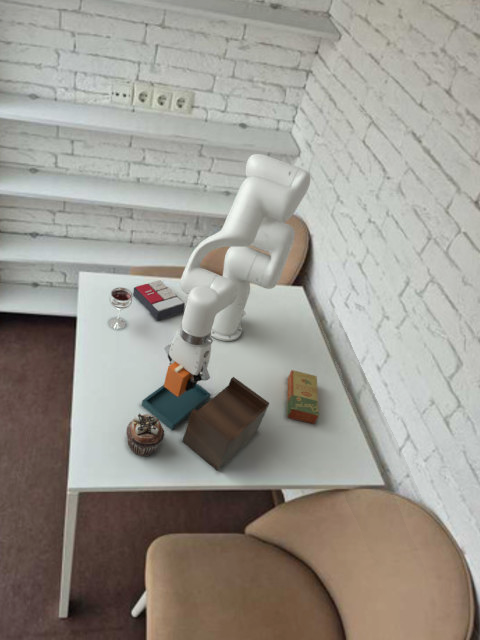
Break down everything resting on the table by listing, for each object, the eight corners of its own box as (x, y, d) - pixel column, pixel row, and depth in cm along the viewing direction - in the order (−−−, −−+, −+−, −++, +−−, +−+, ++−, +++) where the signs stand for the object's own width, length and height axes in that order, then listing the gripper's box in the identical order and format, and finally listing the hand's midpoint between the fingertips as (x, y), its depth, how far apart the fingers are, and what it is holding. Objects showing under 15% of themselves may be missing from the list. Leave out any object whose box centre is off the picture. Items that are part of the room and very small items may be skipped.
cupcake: (165, 456, 135) (172, 432, 129) (128, 462, 132) (133, 437, 126) (156, 426, 142) (162, 401, 136) (120, 430, 139) (125, 405, 132)
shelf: (222, 406, 152) (233, 376, 144) (256, 432, 147) (269, 402, 139) (182, 441, 140) (191, 411, 132) (217, 471, 135) (229, 441, 127)
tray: (180, 376, 157) (181, 371, 156) (209, 398, 153) (211, 394, 152) (141, 405, 146) (142, 400, 145) (171, 430, 142) (172, 425, 141)
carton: (312, 385, 165) (317, 375, 163) (314, 425, 153) (320, 415, 150) (286, 378, 165) (291, 369, 163) (286, 418, 153) (291, 408, 150)
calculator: (160, 278, 186) (185, 302, 177) (159, 288, 188) (183, 312, 180) (133, 285, 180) (158, 310, 171) (132, 295, 182) (156, 321, 174)
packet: (183, 371, 149) (189, 349, 143) (197, 382, 146) (204, 360, 141) (163, 386, 143) (168, 364, 138) (177, 397, 141) (183, 375, 136)
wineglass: (132, 323, 171) (137, 294, 163) (119, 334, 166) (123, 304, 158) (115, 313, 173) (119, 284, 165) (102, 323, 168) (105, 294, 161)
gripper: (230, 344, 132) (214, 393, 143) (178, 308, 139) (167, 358, 150) (212, 358, 127) (196, 407, 138) (159, 320, 134) (149, 370, 145)
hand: (181, 381), depth 144 cm, fingers closed on packet, 5 cm apart
